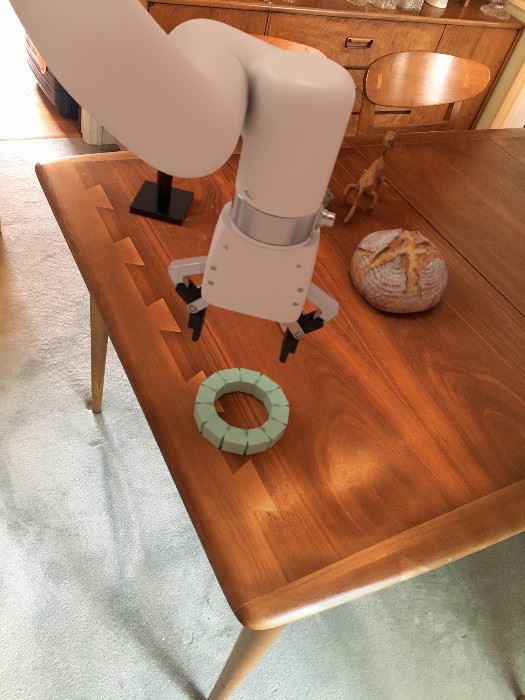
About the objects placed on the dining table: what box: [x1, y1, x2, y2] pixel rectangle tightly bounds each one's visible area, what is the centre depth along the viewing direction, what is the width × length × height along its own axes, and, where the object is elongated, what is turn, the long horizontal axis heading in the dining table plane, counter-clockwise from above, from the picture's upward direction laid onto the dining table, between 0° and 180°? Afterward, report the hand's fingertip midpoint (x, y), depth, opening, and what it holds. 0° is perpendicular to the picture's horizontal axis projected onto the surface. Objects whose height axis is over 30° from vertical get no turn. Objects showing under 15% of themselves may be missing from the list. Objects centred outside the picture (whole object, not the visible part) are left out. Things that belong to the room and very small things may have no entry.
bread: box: [349, 227, 449, 314], centre depth 92 cm, size 16×20×10 cm
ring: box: [192, 367, 290, 456], centre depth 69 cm, size 12×12×2 cm
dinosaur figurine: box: [342, 127, 401, 224], centre depth 105 cm, size 18×7×14 cm, turn 154°
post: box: [129, 170, 195, 226], centre depth 92 cm, size 9×9×12 cm
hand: (240, 342), depth 61 cm, fingers open, 9 cm apart
